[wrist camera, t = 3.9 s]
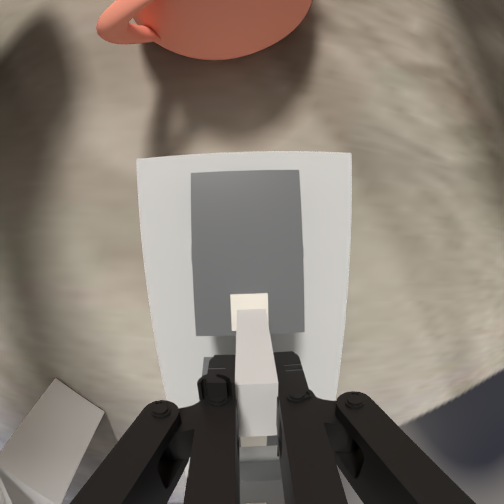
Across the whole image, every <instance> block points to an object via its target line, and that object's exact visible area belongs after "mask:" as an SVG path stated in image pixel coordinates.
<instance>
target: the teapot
mask: <svg viewBox="0 0 504 504" xmlns="http://www.w3.org/2000/svg"><path fill="white" fill-rule="evenodd" d="M311 3H312V0H116V1H115V2H114V3H113V4H111V5H110V6H109V7H108V8H107V9H106V10H105V11H104V12H103V14H102V15H101V16H100V18H99V20H98V22H97V26H96V29H97V33H98V35H99V36H100V37H101V38H102V39H104V40H106V41H108V42H111V43H115V44H137V43H146V42H155V43H157V44H159V45H160V46H162V47H164V48H165V49H168V50H170V51H172V52H175V53H177V54H180V55H183V56H187V57H191V58H196V59H203V60H226V59H233V58H238V57H242V56H246V55H250V54H252V53H255V52H258V51H260V50H263V49H265V48H267V47H269V46H271V45H273V44H275V43H276V42H278V41H280V40H281V39H283V38H284V37H286V36H287V35H288V34H289V33H291V32H292V31H293V30H294V29H295V28H296V27H297V26H298V25H299V24H300V23H301V21H302V20H303V19H304V17H305V16H306V14H307V12H308V10H309V8H310V5H311ZM132 18H134V20H135V22H136V23H137V25H134V24H131V23H129V21H130V20H131V19H132Z"/></svg>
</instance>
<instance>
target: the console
mask: <svg viewBox="0 0 504 504" xmlns="http://www.w3.org/2000/svg"><path fill="white" fill-rule="evenodd" d="M136 160H137V184H138V202H139V216H140V228H141V240H142V250H143V259H144V268H145V277H146V285H147V292H148V300H149V307H150V313H151V320H152V326H153V332H154V338H155V344H156V349H157V355H158V360H159V365H160V371H161V376H162V380H163V385H164V390H165V395H166V399H167V401H170V402H173V403H175V404H176V405H177V406H178V408H183V407H188V406H192V405H194V404H196V403H198V402H199V394H198V387H197V382H198V380H199V378H201V377H202V370H203V360H204V357H213V356H214V355H236V335H235V336H196V328H195V311H194V292H193V269H192V261H191V244H192V238H191V173H199V172H219V171H247V170H299V175H300V192H301V212H302V235H303V248H304V258H303V265H304V318H305V332H299V333H283V334H270V337H271V343H272V349H273V352H287V351H293V352H294V353H296V354H298V356H299V358H300V361H301V365H302V368H303V371H304V374H305V378H306V381H307V384H308V388H309V389H310V390H311V391H313V393H314V394H315V396H316V397H318V398H320V399H324V400H331V401H335V400H336V393H337V386H338V379H339V372H340V364H341V356H342V347H343V338H344V328H345V318H346V307H347V294H348V280H349V264H350V243H351V207H352V163H351V153H341V152H305V151H263V152H227V153H206V154H190V155H176V156H164V157H153V158H142V159H136ZM277 446H278V445H274V446H256V447H240V462H251V461H271V460H279V456H278V457H277ZM189 463H190V458H189V462H188V464H187V465H186V467H185V473H186V476H188V470H189Z"/></svg>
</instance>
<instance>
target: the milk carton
mask: <svg viewBox="0 0 504 504" xmlns="http://www.w3.org/2000/svg"><path fill="white" fill-rule="evenodd" d="M104 413H105V412H104V411H103V410H101V409H100V408H98V407H97V406H95V405H94V404H92V403H91V402H89V401H88V400H86V399H85V398H83V397H82V396H80V395H79V394H77V393H76V392H75V391H73V390H72V389H70V388H69V387H68V386H66V385H65V384H63V383H62V382H61V381H59V380H58V379H57V378H55V379H54V380H53V382H52V383H51V384H50V386H49V387H48V388H47V389H46V391H45V392H44V393H43V395H42V396H41V397H40V398H39V400H38V401H37V402H36V404H35V405H34V406H33V408H32V409H31V410H30V412H29V413H28V414H27V416H26V417H25V418H24V420H23V421H22V422H21V424H20V425H19V427H18V428H17V429H16V431H15V432H14V433H13V435H12V436H11V438H10V439H9V440H8V442H7V443H6V445H5V446H4V448H3V449H2V450H1V452H0V504H62V502H63V500H64V498H65V495H66V493H67V491H68V489H69V486H70V484H71V482H72V480H73V477H74V475H75V473H76V471H77V469H78V467H79V464H80V462H81V460H82V458H83V456H84V454H85V452H86V450H87V448H88V445H89V443H90V441H91V439H92V437H93V435H94V433H95V431H96V429H97V427H98V425H99V423H100V421H101V419H102V417H103V415H104Z"/></svg>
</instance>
